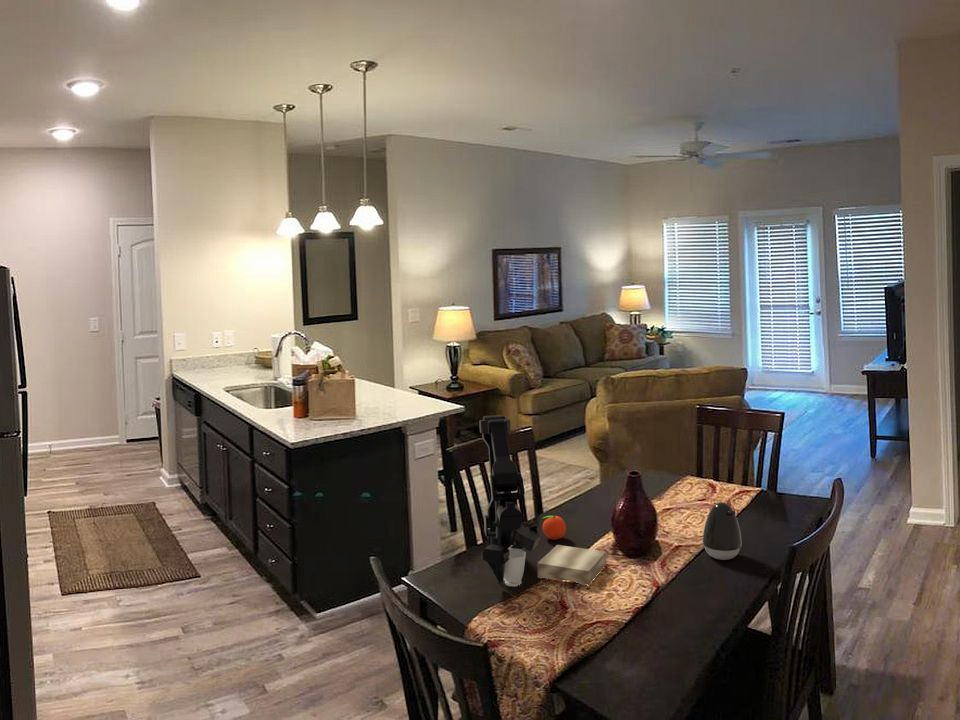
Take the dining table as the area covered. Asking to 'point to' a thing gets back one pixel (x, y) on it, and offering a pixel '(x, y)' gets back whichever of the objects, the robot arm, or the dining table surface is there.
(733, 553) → the grey egg-shaped figure
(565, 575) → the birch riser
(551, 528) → the clementine
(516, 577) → the cup
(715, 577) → the dining table surface
